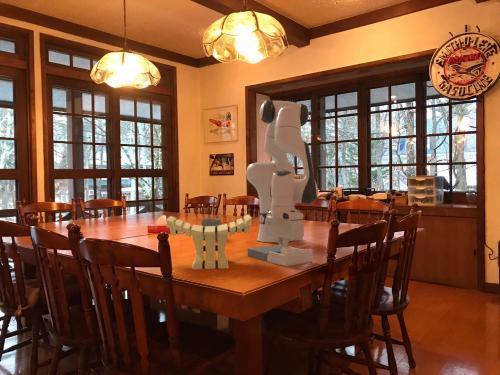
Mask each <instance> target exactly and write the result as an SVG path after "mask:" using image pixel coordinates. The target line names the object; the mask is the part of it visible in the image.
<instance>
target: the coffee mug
mask: <svg viewBox="0 0 500 375" xmlns="http://www.w3.org/2000/svg"><path fill="white" fill-rule="evenodd" d="M221 220H222V219H221V218H217V217H216V218H213V217H212V218H210V217H209V218H201V220H200V221H201V222H200V223H201V224H200V226H203V227H205V226H215V227H217V226H219V225H222V223H221ZM203 241H205V235H204V233H203ZM215 241H218V233H217V232H215Z"/></svg>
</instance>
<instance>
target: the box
mask: <svg viewBox="0 0 500 375" xmlns="http://www.w3.org/2000/svg"><path fill="white" fill-rule="evenodd" d="M293 248H294V249H295V251H292V252H286V253H284V255H283V254H280V253H275V252H271V251H269V252H268V255H267V261H266V262H267V263H270V264H274V265H277V266H281V267H284V268H288V267H293V266H299V265H304V264H309V263H311V264H312V263H313V248H306V249H302V248H297V247H293Z"/></svg>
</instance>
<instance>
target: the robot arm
mask: <svg viewBox="0 0 500 375" xmlns="http://www.w3.org/2000/svg"><path fill="white" fill-rule="evenodd" d="M309 114H310V112H309V108H308V106H307V105H306V104H303V103H300V102H299V103H297V102H295V101H289V100H272V99H267V100H264V101H263V102H262V104H261V106H260V108H259V116H260V120H261V121H262V122H263V123H265V124H267V125H266V131H265V137H264V142H263V143H264V144H263V150H264V152H265V153H266V154H267V155H268V156H270V157H271V161H267V162H266V161H261V162H260V161H257V162H254V163H250V164H249V165H247V168H246V169H245V170H246V171H245V177H246V179H247V181H248V182H249V183H250V184H251V185H252V186H253V187H254V189H256V192H257V195H258V198H259V214H258V220H259V228H258V229H259V230H258V236H257V239H256V241H258V242H262V243H263V242H264V243H278V246H279V248H280V249H282V247H287V246H289V245H288V244H289V242H293V241H301V240H303V239H304V236H305V234H304V233H305V232H304V231H305V230H304V228H305V226H304V222H303V219H304V214H303V212H301V211H299V210H298V209H296V207H295V204H306V205H311V204H312V203H314V202H315V201H317V199H318V197H319V188H318V185H317V181H316V178H315V171H314V165H313V161H312V160H313V159H312V155H311V151H310V146H309V144H308V142H306V141H305V140H304V139H303V137H302V131H301V130H302V129H301V128H302V127H303V126H305V125H306V124H307V123H308V120H309V116H310V115H309ZM287 154H289V155H291V156H294V157H296V158H298V159H299V160H300V161H301V162H302V163H301V164H302V169H303V176H304V178H295V176H296V170H295V167H294V166H293V164H292V163H291V162H290V161H289V159H288V155H287Z"/></svg>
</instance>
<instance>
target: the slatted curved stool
mask: <svg viewBox="0 0 500 375" xmlns="http://www.w3.org/2000/svg"><path fill="white" fill-rule="evenodd" d="M228 224H229V226H228ZM165 227H166V229H169V230H170V231H169V232H170V237H172V236H174V235H175V236H176V235H184V236H187V237H190V238H191V237H192V241H193V243H194V247H195V251H196V255H195V258H194V260H193V263H192V267H191V270H203V269H204V270H208V269H209V270H210V269H211V270H213V269H229V268H230V267H229V260H228V258H227V256H226V253H225V249H226V248H225V247H226V246H227V245H226V244H227V242H228V235H229V237H231V236H232V235H235V234H236V233H237V234H242V233H244V234H247V235H250V228H251V227H252V216H251V215H250V214H246V215H244V216H243V218H239V219H236V223H235V221H230V222H229V223H226V224H225V223H224V224H221V225H219V226H217V227H215V226H205V227H203V226H201V225H198V224H197V225H196V224H192V223H190V222H185V223H184V221H183V220H182V219H179V218H178V219H177V217H176V216H172V215H170V216H168V218H166V226H165ZM215 232H217V233H218V240H217V245H216V240H215ZM203 233H204V235H205V240H203ZM204 242H205V244H204ZM216 252H217V258H216ZM204 253H205V258H204ZM216 259H217V261H216Z"/></svg>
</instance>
